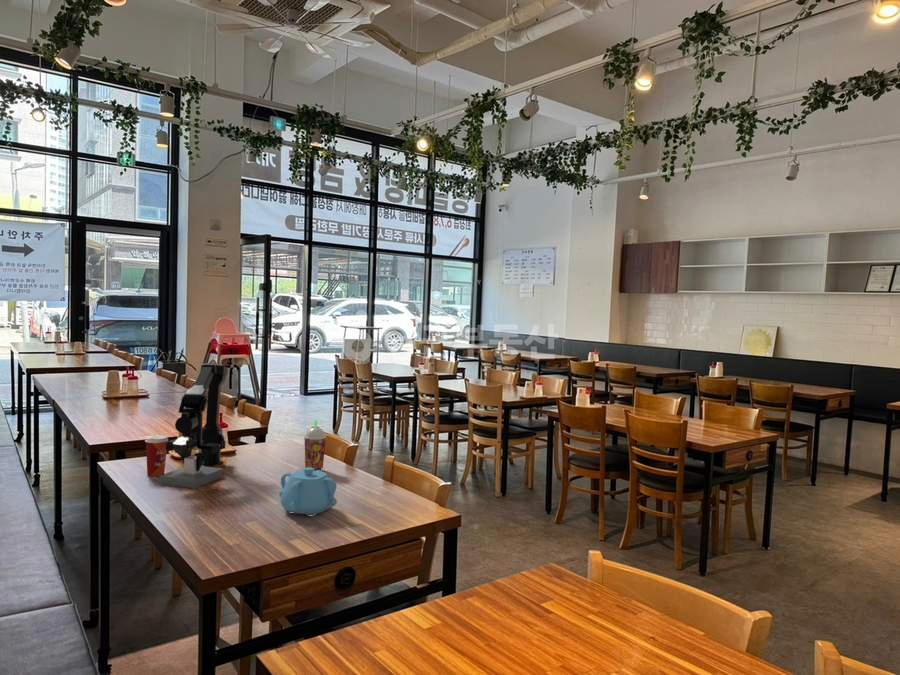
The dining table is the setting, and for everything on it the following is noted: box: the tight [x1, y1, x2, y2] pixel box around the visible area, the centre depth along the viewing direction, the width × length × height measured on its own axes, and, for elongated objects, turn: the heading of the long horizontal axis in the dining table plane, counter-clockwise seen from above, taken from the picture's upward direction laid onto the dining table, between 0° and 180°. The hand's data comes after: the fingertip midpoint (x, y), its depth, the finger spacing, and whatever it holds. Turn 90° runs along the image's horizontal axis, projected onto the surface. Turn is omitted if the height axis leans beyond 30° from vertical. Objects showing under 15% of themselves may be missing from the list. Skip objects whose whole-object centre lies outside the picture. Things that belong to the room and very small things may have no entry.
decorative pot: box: [279, 467, 338, 515], centre depth 192 cm, size 16×16×14 cm
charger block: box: [183, 455, 201, 475], centre depth 218 cm, size 4×4×6 cm
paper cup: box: [144, 434, 169, 477], centre depth 222 cm, size 8×8×14 cm
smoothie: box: [303, 419, 327, 471], centre depth 237 cm, size 8×8×20 cm
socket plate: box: [159, 465, 224, 489], centre depth 218 cm, size 16×14×3 cm
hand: (192, 470), depth 218 cm, fingers closed on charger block, 4 cm apart
